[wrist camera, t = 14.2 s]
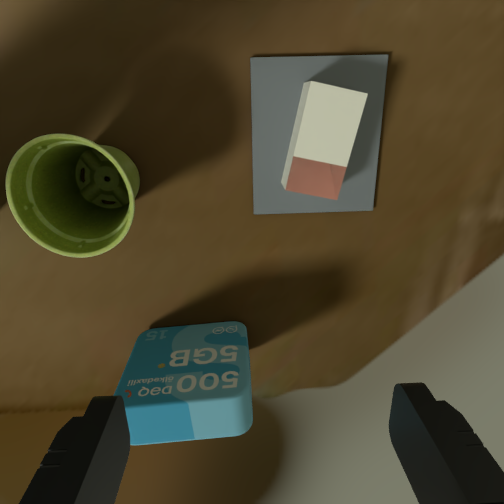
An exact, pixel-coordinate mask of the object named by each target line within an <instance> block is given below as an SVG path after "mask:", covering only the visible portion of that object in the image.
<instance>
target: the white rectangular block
mask: <svg viewBox="0 0 504 504" xmlns="http://www.w3.org/2000/svg"><path fill="white" fill-rule="evenodd" d="M367 95H368V94H367V93H363V92H358V91H354V90H349V89H345V88H341V87H336V86H332V85H327V84H323V83H319V82H314V81H309V82H305V83H304V84H303V89H302V93H301V97H300V102H299V106H298V110H297V115H296V119H295V123H294V128H293V132H292V137H291V141H290V145H289V150H288V154H287V158H286V163H285V167H284V171H283V176H282V180H281V183H282V185H283V187H284V189H285V190H287V191H292V192H297V193H302V194H308V195H313V196H318V197H323V198H328V199H333V200H337V199H338V196H339V192H340V189H341V185H342V182H343V178H344V175H345V171H346V168H347V164H348V161H349V158H350V154H351V151H352V147H353V144H354V140H355V137H356V133H357V130H358V126H359V123H360V119H361V116H362V113H363V109H364V106H365V102H366V99H367Z"/></svg>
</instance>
